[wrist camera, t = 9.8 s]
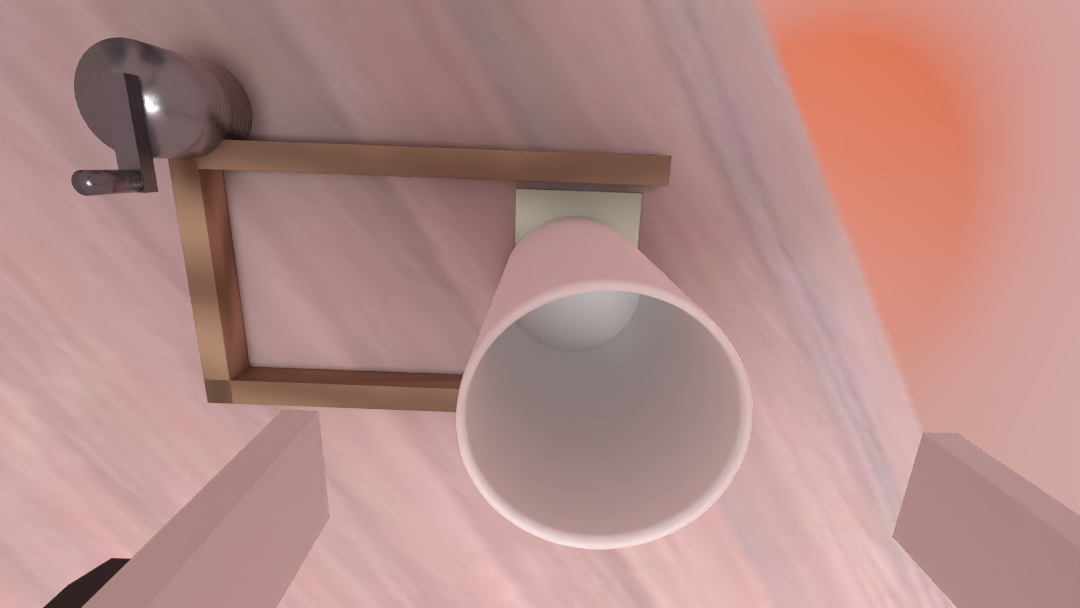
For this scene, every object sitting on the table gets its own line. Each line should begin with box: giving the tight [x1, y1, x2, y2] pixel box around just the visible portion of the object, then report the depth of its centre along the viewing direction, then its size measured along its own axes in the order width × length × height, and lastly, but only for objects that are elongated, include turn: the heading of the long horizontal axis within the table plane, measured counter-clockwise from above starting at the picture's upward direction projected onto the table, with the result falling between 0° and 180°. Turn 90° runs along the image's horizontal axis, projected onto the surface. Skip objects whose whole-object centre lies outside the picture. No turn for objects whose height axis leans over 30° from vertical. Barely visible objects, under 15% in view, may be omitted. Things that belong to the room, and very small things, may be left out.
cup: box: [456, 216, 753, 549], centre depth 21 cm, size 8×8×16 cm
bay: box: [168, 140, 671, 412], centre depth 28 cm, size 15×26×2 cm, turn 88°
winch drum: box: [72, 38, 252, 196], centre depth 23 cm, size 6×5×8 cm
